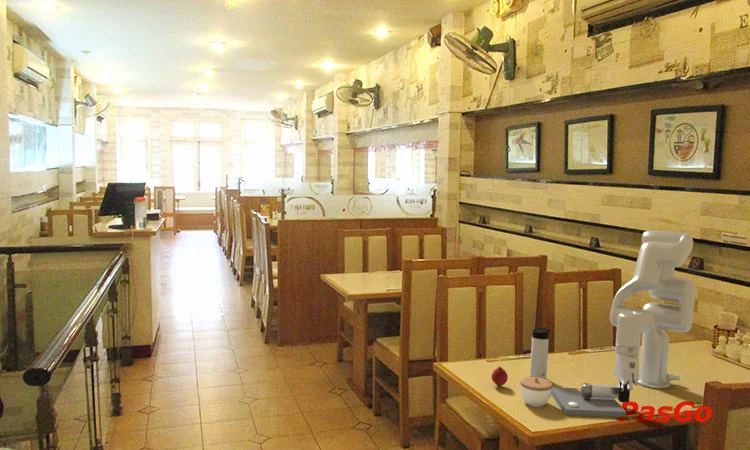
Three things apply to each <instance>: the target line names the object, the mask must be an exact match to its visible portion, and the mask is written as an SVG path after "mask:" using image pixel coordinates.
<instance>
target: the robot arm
mask: <svg viewBox="0 0 750 450" xmlns="http://www.w3.org/2000/svg"><path fill="white" fill-rule="evenodd" d="M641 243H642V244H641V246H640V247H639V251H638V256H637V260H636V264H635V268H634V271H633V274H632V278H631V279H630V281H628V282H626V283H625V284H623V285H622V286H621V288H619V290H617V292H616V294H615V295H614V298H613V300H612V304H611V307H610V313H609V321H610V323H611V325H612V326H614V327H616V333H615V334H616V335H615V350H614V351H615V353H616V355H615V361H614V376H615V378H617V380H618V385H619V392H618V399H617V400H618V401H619V402H620V403H630V397H631V396H630V394H631V391H633V390H634V387H633V386H634V385H635V386H638V385H641V386H643V387H646V388H652V389H659V390H660V389H661V390H662V389H668V388H670V387H671V385H672V383H671V381H680V380H681V377H680V375H679V374H678V375H677V374H673V373H669V372H668V367H669V366H668V365H669V355H670V354H669V350H670V338H669V335H668V334H667V332H666V330H668V331H673V332H677V333H678V332H679V333H688V332H689V331H690V330H691V329H692V325H693V319H694V309H695V297H696V286H695V283H694V282H693V280H692V279H690V278H687V277H681V276H675V268H680V267H682V266H683V264H684V263H685V262H686V260H687V258H688V257H689V256H690V254H691V253H692V250H693V247H694V240H693V236H691V235H690V234H689V233H687V232H677V231H668V230H659V229H658V230H657V229H653V230H652V229H651V230H645V231H644V232H643V233H642V236H641ZM646 291H648V294H649V296H650V298H653V299H656V300H660V301H665V302H672V303H677V304H678V305H674V304H669V303H664V302H663V303H662V302H654V301H652V302H647V303H646V304H644V305H643V307H642V309H641V308H634V307H628V306H623V305H624V303H625V301H626V300H627V299H628V298H629V297H631V296H633V295H634V294H635V295H636V294H637V293H642V292H646ZM641 333H642V339H641ZM641 340H642V341H641ZM640 345H641V353H640ZM639 356H640V363H639ZM633 384H634V385H633Z"/></svg>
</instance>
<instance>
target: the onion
mask: <svg viewBox="0 0 750 450" xmlns="http://www.w3.org/2000/svg"><path fill="white" fill-rule="evenodd" d="M508 377H509V376H508V373H507V371H506V370H505V369H504V368H503V367H501V365H498V367H496V368H495V369H494V370H493V372H492V374H491V380H492V382H493V383H494V384H495V385H496V386H497V387H502V386H503V385H505V384H506V383H507V381H508V379H509V378H508Z"/></svg>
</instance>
